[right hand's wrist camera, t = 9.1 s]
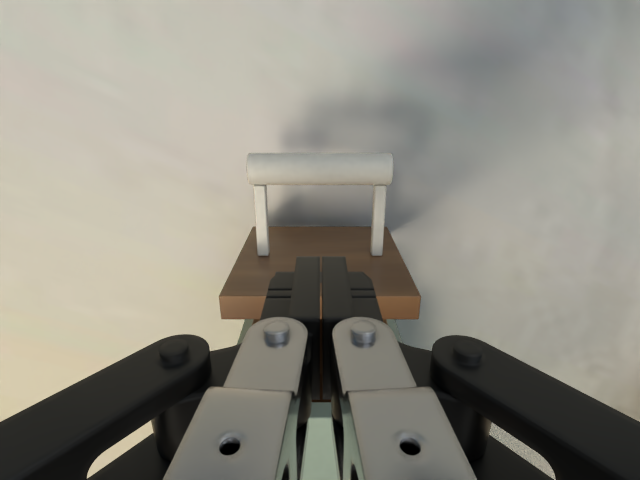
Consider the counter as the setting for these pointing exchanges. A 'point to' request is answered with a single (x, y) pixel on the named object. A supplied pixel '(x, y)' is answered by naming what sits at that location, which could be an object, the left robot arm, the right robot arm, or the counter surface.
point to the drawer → (319, 236)
